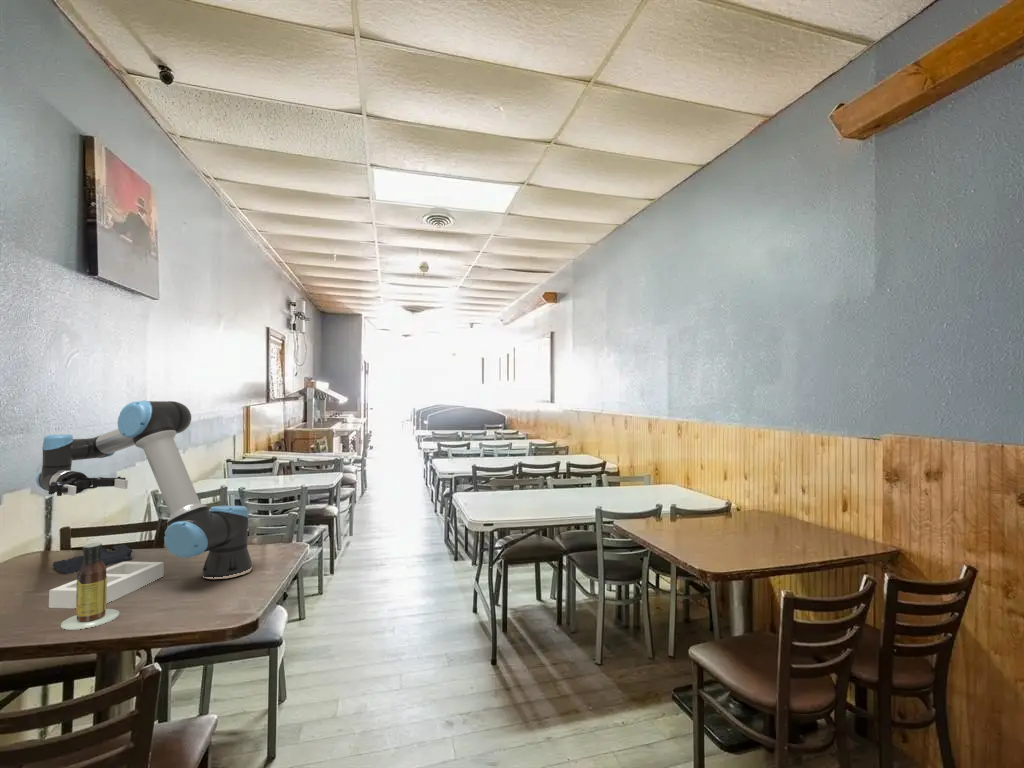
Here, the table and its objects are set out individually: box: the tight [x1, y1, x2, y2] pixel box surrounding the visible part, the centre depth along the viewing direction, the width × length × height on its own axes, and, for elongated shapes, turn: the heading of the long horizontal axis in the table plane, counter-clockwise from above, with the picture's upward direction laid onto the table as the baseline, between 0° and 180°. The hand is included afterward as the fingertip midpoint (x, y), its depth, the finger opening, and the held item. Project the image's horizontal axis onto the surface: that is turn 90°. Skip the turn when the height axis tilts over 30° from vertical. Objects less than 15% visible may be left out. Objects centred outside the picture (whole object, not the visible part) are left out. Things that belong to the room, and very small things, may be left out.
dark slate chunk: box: [52, 543, 135, 575], centre depth 180 cm, size 15×22×5 cm
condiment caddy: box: [48, 561, 165, 609], centre depth 153 cm, size 14×26×5 cm, turn 178°
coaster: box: [60, 608, 120, 631], centre depth 133 cm, size 12×12×1 cm
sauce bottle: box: [75, 542, 107, 622], centre depth 133 cm, size 6×6×20 cm
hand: (101, 487), depth 155 cm, fingers open, 13 cm apart
